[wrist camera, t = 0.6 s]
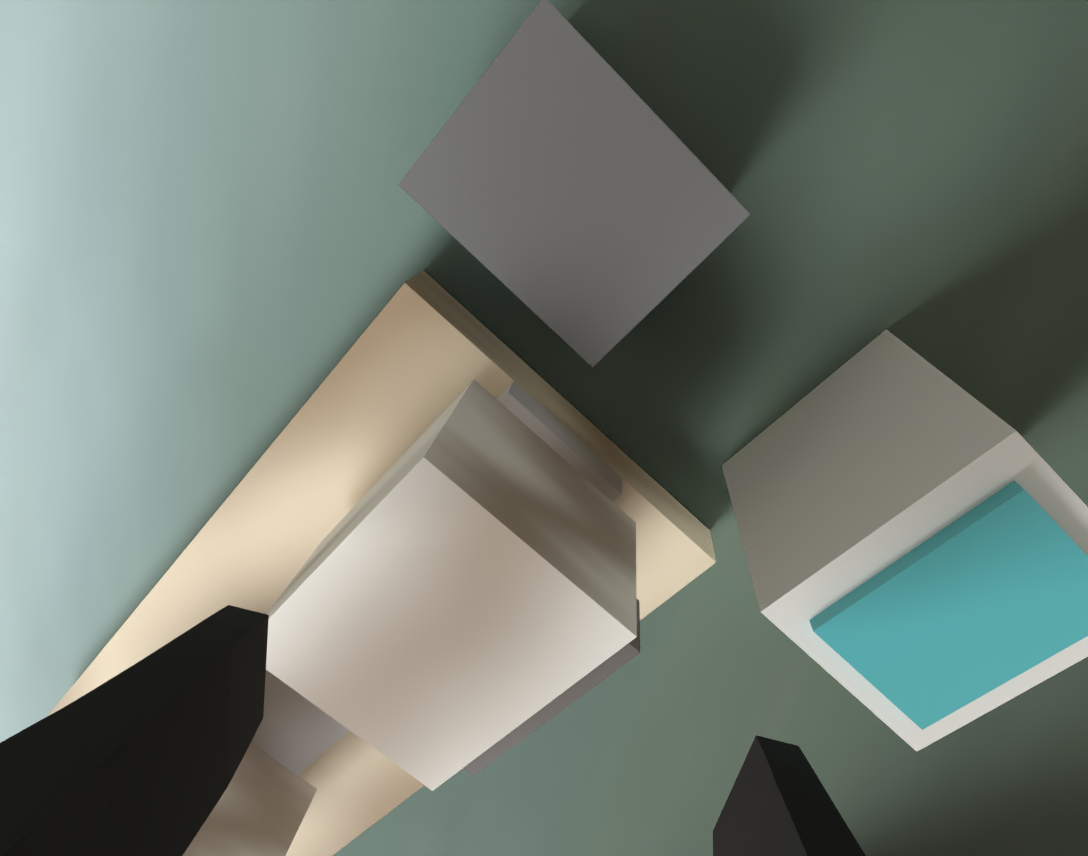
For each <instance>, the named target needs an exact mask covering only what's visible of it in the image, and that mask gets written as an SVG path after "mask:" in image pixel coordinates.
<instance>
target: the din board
mask: <svg viewBox="0 0 1088 856" xmlns="http://www.w3.org/2000/svg"><path fill="white" fill-rule="evenodd" d="M714 563H716V559H715V554H714V549H713V544H712V539H711V533H710V530H709V529H708V528H707V527H705V526H704V525H703V524H702V523H701V522H700V521H699V520H698V519H697V518H696V517H694V516H693V515H692V514H691V513H690V512H689V511H688V510H687V509H686V508H685V507H683V506H682V505H681V504H680V503H679V502H678V501H677V500H676V499H675V498H674V497H672V496H671V495H670V494H669V493H668V492H667V491H666V490H665V489H664V488H663V487H661V486H660V485H659V484H658V483H657V482H656V481H655V480H654V479H653V478H652V477H650V476H649V475H648V474H647V473H646V472H645V471H644V470H643V469H642V468H641V467H639V466H638V465H637V464H636V463H635V462H634V461H633V460H632V459H631V458H630V457H628V456H627V455H626V454H625V453H624V452H623V451H622V450H621V449H620V448H618V447H617V446H616V445H615V444H614V443H613V442H612V441H611V440H610V439H609V438H607V437H606V436H605V435H604V434H603V433H602V432H601V431H600V430H599V429H598V428H596V427H595V426H594V425H593V424H592V423H591V422H590V421H589V420H588V419H587V418H585V417H584V416H583V415H582V414H581V413H580V412H579V411H578V410H577V409H576V408H574V407H573V406H572V405H571V404H570V403H569V402H568V401H567V400H566V399H565V398H563V397H562V396H561V395H560V394H559V393H558V392H557V391H556V390H555V389H554V388H552V387H551V386H550V385H549V384H548V383H547V382H546V381H545V380H544V379H543V378H541V377H540V376H539V375H538V374H537V373H536V372H535V371H534V370H533V369H532V368H530V367H529V366H528V365H527V364H526V363H525V362H524V361H523V360H522V359H520V358H519V357H518V356H517V355H516V354H515V353H514V352H513V351H512V350H511V349H509V348H508V347H507V346H506V345H505V344H504V343H503V342H502V341H501V340H500V339H498V338H497V337H496V336H495V335H494V334H493V333H492V332H491V331H490V330H489V329H487V328H486V327H485V326H484V325H483V324H482V323H481V322H480V321H479V320H478V319H476V318H475V317H474V316H473V315H472V314H471V313H470V312H469V311H468V310H467V309H465V308H464V307H463V306H462V305H461V304H460V303H459V302H458V301H457V300H456V299H454V298H453V297H452V296H451V295H450V294H449V293H448V292H447V291H446V290H445V289H443V288H442V287H441V286H440V285H439V284H438V283H437V282H436V281H435V280H434V279H432V278H431V277H430V276H429V275H428V274H427V273H426V272H425V271H424V270H423V271H422V272H420V273H419V274H417V275H416V276H414V277H413V278H411V279H410V280H408V281H407V282H405V283H404V284H403V285H402V287H401V288H400V289H399V290H398V292H397V293H396V294H395V295H394V296H393V298H392V299H391V300H390V301H389V302H388V304H387V305H386V306H385V307H384V309H383V310H382V311H381V312H380V313H379V315H378V316H377V317H376V318H375V319H374V321H373V322H372V323H371V324H370V326H369V327H368V328H367V329H366V330H365V332H364V333H363V334H362V335H361V336H360V338H359V339H358V340H357V341H356V343H355V344H354V345H353V346H352V347H351V349H350V350H349V351H348V352H347V353H346V355H345V356H344V357H343V358H342V360H341V361H340V362H339V363H338V364H337V366H336V367H335V368H334V369H333V370H332V372H331V373H330V374H329V375H328V376H327V378H326V379H325V380H324V381H323V383H322V384H321V385H320V386H319V387H318V389H317V390H316V391H315V392H314V393H313V395H312V396H311V397H310V398H309V400H308V401H307V402H306V403H305V404H304V406H303V407H302V408H301V409H300V410H299V412H298V413H297V414H296V415H295V417H294V418H293V419H292V420H291V421H290V423H289V424H288V425H287V426H286V427H285V429H284V430H283V431H282V432H281V434H280V435H279V436H278V437H277V438H276V440H275V441H274V442H273V443H272V444H271V446H270V447H269V448H268V449H267V451H266V452H265V453H264V454H263V455H262V457H261V458H260V459H259V460H258V461H257V463H256V464H255V465H254V466H253V468H252V469H251V470H250V471H249V472H248V474H247V475H246V476H245V477H244V478H243V480H242V481H241V482H240V483H239V485H238V486H237V487H236V488H235V489H234V491H233V492H232V493H231V494H230V495H229V497H228V498H227V499H226V500H225V502H224V503H223V504H222V505H221V506H220V508H219V509H218V510H217V511H216V512H215V514H214V515H213V516H212V517H211V519H210V520H209V521H208V522H207V523H206V525H205V526H204V527H203V528H202V529H201V531H200V532H199V533H198V534H197V536H196V537H195V538H194V539H193V540H192V542H191V543H190V544H189V545H188V546H187V548H186V549H185V550H184V551H183V552H182V554H181V555H180V556H179V557H178V559H177V560H176V561H175V562H174V563H173V565H172V566H171V567H170V568H169V569H168V571H167V572H166V573H165V574H164V576H163V577H162V578H161V579H160V580H159V582H158V583H157V584H156V585H155V586H154V588H153V589H152V590H151V591H150V593H149V594H148V595H147V596H146V597H145V599H144V600H143V601H142V602H141V603H140V605H139V606H138V607H137V608H136V610H135V611H134V612H133V613H132V614H131V616H130V617H129V618H128V619H127V620H126V622H125V623H124V624H123V625H122V627H121V628H120V629H119V630H118V631H117V633H116V634H115V635H114V636H113V637H112V639H111V640H110V641H109V642H108V644H107V645H106V646H105V647H104V648H103V650H102V651H101V652H100V653H99V654H98V656H97V657H96V658H95V659H94V661H93V662H92V663H91V664H90V665H89V667H88V668H87V669H86V670H85V671H84V673H83V674H82V675H81V676H80V678H79V679H78V680H77V681H76V682H75V684H74V685H73V686H72V687H71V688H70V690H69V691H68V692H67V693H66V695H65V696H64V697H63V698H62V699H61V701H60V702H59V703H58V704H57V705H56V707H55V708H54V709H53V710H52V712H51V713H50V714H49V715H51V714H53V713H54V712H56V711H58V710H60V709H62V708H63V707H65V706H67V705H68V704H70V703H72V702H73V701H75V700H77V699H79V698H80V697H82V696H83V695H85V694H87V693H88V692H90V691H92V690H93V689H95V688H97V687H98V686H100V685H101V684H103V683H105V682H106V681H108V680H110V679H111V678H113V677H115V676H116V675H118V674H119V673H121V672H123V671H124V670H126V669H128V668H129V667H131V666H133V665H134V664H136V663H137V662H139V661H140V660H142V659H144V658H145V657H147V656H148V655H150V654H151V653H153V652H155V651H156V650H158V649H159V648H161V647H162V646H164V645H166V644H167V643H169V642H170V641H172V640H173V639H175V638H177V637H178V636H180V635H181V634H183V633H184V632H186V631H187V630H189V629H191V628H192V627H194V626H195V625H197V624H198V623H200V622H201V621H203V620H205V619H206V618H208V617H209V616H211V615H213V614H214V613H216V612H217V611H219V610H221V609H222V608H224V607H226V606H228V605H231V606H235V607H239V608H243V609H247V610H251V611H255V612H259V613H263V614H267V615H269V619H268V638H267V657H266V676H265V695H264V714H263V719H262V721H261V723H260V725H259V727H258V729H257V731H256V733H255V735H254V737H253V739H252V741H251V743H250V745H249V747H248V749H247V751H246V753H245V755H244V757H243V759H242V761H241V763H240V765H239V766H238V768H237V770H236V772H235V774H234V776H233V778H232V780H231V782H230V783H229V785H228V787H227V789H226V790H225V792H224V793H223V795H222V796H221V798H220V799H219V801H218V803H217V804H216V806H215V807H214V809H213V810H212V812H211V813H210V815H209V816H208V818H207V819H206V821H205V822H204V824H203V825H202V827H201V828H200V830H199V832H198V833H197V835H196V836H195V838H194V839H193V841H192V842H191V844H190V845H189V847H188V848H187V850H186V851H185V853H184V854H183V856H332V855H334V854H335V853H336V852H337V851H339V850H340V849H341V848H343V847H344V846H345V845H347V844H348V843H349V842H351V841H352V840H353V839H355V838H356V837H357V836H358V835H360V834H361V833H362V832H364V831H365V830H366V829H368V828H369V827H370V826H372V825H373V824H374V823H375V822H377V821H378V820H379V819H381V818H382V817H383V816H385V815H386V814H387V813H389V812H390V811H391V810H392V809H394V808H395V807H396V806H398V805H399V804H400V803H402V802H403V801H404V800H406V799H407V798H408V797H409V796H411V795H412V794H413V793H415V792H416V791H417V790H419V789H420V788H421V787H423V786H424V785H425V786H426V787H428V788H429V789H431V790H432V791H433V790H434V789H436V788H437V787H438V786H440V785H441V784H442V783H444V782H445V781H446V780H448V779H449V778H450V777H452V776H453V775H454V774H456V773H457V772H458V771H460V770H461V769H462V768H464V769H466V770H467V771H468V772H470V773H471V774H472V775H476V774H477V773H478V772H480V771H481V770H482V769H484V768H485V767H486V766H488V765H489V764H490V763H492V762H493V761H494V760H496V759H497V758H498V757H500V756H501V755H503V754H504V753H505V752H507V751H508V750H509V749H511V748H512V747H513V746H515V745H516V744H517V743H519V742H520V741H521V740H523V739H524V738H525V737H527V736H528V735H530V734H531V733H532V732H534V731H535V730H536V729H538V728H539V727H540V726H542V725H543V724H544V723H546V722H547V721H548V720H550V719H551V718H552V717H554V716H555V715H557V714H558V713H559V712H561V711H562V710H563V709H565V708H566V707H567V706H569V705H570V704H571V703H573V702H574V701H575V700H577V699H578V698H579V697H581V696H582V695H584V694H585V693H586V692H588V691H589V690H590V689H592V688H593V687H594V686H596V685H597V684H598V683H600V682H601V681H602V680H604V679H605V678H606V677H608V676H609V675H611V674H612V673H613V672H615V671H616V670H617V669H619V668H620V667H621V666H623V665H624V664H625V663H627V662H628V661H629V660H631V659H632V658H633V657H635V656H636V655H638V654H639V653H640V620H641V619H642V618H644V617H645V616H646V615H648V614H649V613H650V612H652V611H653V610H654V609H656V608H657V607H658V606H659V605H661V604H662V603H663V602H665V601H666V600H667V599H669V598H670V597H671V596H673V595H674V594H675V593H676V592H678V591H679V590H680V589H682V588H683V587H684V586H686V585H687V584H688V583H690V582H691V581H692V580H694V579H695V578H696V577H697V576H699V575H700V574H701V573H703V572H704V571H705V570H707V569H708V568H709V567H711V566H712V565H713V564H714ZM49 715H48V716H49Z"/></svg>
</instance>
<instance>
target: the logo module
mask: <svg viewBox="0 0 1088 856" xmlns="http://www.w3.org/2000/svg"><path fill="white" fill-rule="evenodd" d="M722 469H723V473H724V476H725V480H726V484H727V488H728V491H729V495H730V499H731V503H732V506H733V510H734V514H735V518H736V521H737V525H738V529H739V533H740V537H741V540H742V544H743V548H744V552H745V555H746V559H747V563H748V567H749V570H750V574H751V578H752V582H753V585H754V589H755V593H756V597H757V601H758V604H759V608H760V612H761V613H762V614H763V615H765V616H766V617H767V618H768V619H769V620H770V621H771V622H772V623H773V624H775V625H776V626H777V627H778V628H779V629H780V630H781V631H782V632H784V633H785V634H786V635H787V636H788V637H789V638H790V639H791V640H792V641H794V642H795V643H796V644H797V645H798V646H799V647H800V648H801V649H803V650H804V651H805V652H806V653H807V654H808V655H809V656H810V657H812V658H813V659H814V660H815V661H816V662H817V663H818V664H819V665H820V666H822V667H823V668H824V669H825V670H826V671H827V672H828V673H829V674H831V675H832V676H833V677H834V678H835V679H836V680H837V681H838V682H839V683H841V684H842V685H843V686H844V687H845V688H846V689H847V690H848V691H850V692H851V693H852V694H853V695H854V696H855V697H856V698H857V699H858V700H860V701H861V702H862V703H863V704H864V705H865V706H866V707H867V708H869V709H870V710H871V711H872V712H873V713H874V714H875V715H876V716H877V717H879V718H880V719H881V720H882V721H883V722H884V723H885V724H886V725H888V726H889V727H890V728H891V729H892V730H893V731H894V732H895V733H897V734H898V735H899V736H900V737H901V738H902V739H903V740H904V741H905V742H907V743H908V744H909V745H910V746H911V747H912V748H913V749H914V750H916V751H919V750H921V749H923V748H924V747H926V746H928V745H930V744H931V743H933V742H935V741H937V740H939V739H940V738H942V737H944V736H946V735H948V734H949V733H951V732H953V731H955V730H957V729H958V728H960V727H962V726H964V725H966V724H967V723H969V722H971V721H973V720H975V719H976V718H978V717H980V716H982V715H984V714H985V713H987V712H989V711H991V710H993V709H994V708H996V707H998V706H1000V705H1001V704H1003V703H1005V702H1007V701H1009V700H1010V699H1012V698H1014V697H1016V696H1018V695H1019V694H1021V693H1023V692H1025V691H1027V690H1028V689H1030V688H1032V687H1034V686H1036V685H1037V684H1039V683H1041V682H1043V681H1045V680H1046V679H1048V678H1050V677H1052V676H1054V675H1055V674H1057V673H1059V672H1061V671H1063V670H1064V669H1066V668H1068V667H1070V666H1071V665H1073V664H1075V663H1077V662H1079V661H1080V660H1082V659H1084V658H1086V657H1088V507H1087V506H1086V505H1085V504H1084V503H1083V502H1082V501H1081V499H1080V498H1079V497H1078V496H1077V495H1076V494H1075V493H1074V492H1073V491H1072V490H1071V489H1070V488H1069V487H1068V486H1067V484H1066V483H1065V482H1064V481H1063V480H1062V479H1061V478H1060V477H1059V476H1058V475H1057V474H1056V473H1055V472H1054V470H1053V469H1052V468H1051V467H1050V466H1049V465H1048V464H1047V463H1046V462H1045V461H1044V460H1043V459H1042V458H1041V457H1040V455H1039V454H1038V453H1037V452H1036V451H1035V450H1034V449H1033V448H1032V447H1031V446H1030V445H1029V444H1028V443H1027V442H1026V440H1025V439H1024V438H1023V437H1022V436H1021V435H1020V434H1019V433H1018V432H1017V431H1016V430H1015V429H1014V428H1012V427H1011V426H1010V425H1008V424H1007V423H1006V422H1005V421H1003V420H1002V419H1001V418H999V417H998V416H997V415H996V414H994V413H993V412H992V411H991V410H989V409H988V408H987V407H985V406H984V405H983V404H982V403H980V402H979V401H978V400H976V399H975V398H974V397H973V396H971V395H970V394H969V393H967V392H966V391H965V390H964V389H962V388H961V387H960V386H959V385H957V384H956V383H955V382H953V381H952V380H951V379H950V378H948V377H947V376H946V375H944V374H943V373H942V372H941V371H939V370H938V369H937V368H935V367H934V366H933V365H932V364H930V363H929V362H928V361H927V360H925V359H924V358H923V357H921V356H920V355H919V354H918V353H916V352H915V351H914V350H912V349H911V348H910V347H909V346H907V345H906V344H905V343H903V342H902V341H901V340H900V339H898V338H897V337H896V336H894V335H893V334H892V333H891V332H889V331H888V330H887V329H886V330H885V331H884V332H882V333H881V334H880V335H879V336H878V337H876V338H875V339H874V340H873V341H872V342H870V343H869V344H868V345H867V346H865V347H864V348H863V349H862V350H861V351H859V352H858V353H857V354H856V355H855V356H853V357H852V358H851V359H850V360H849V361H847V362H846V363H845V364H844V365H843V366H841V367H840V368H839V369H838V370H836V371H835V372H834V373H833V374H832V375H830V376H829V377H828V378H827V379H826V380H824V381H823V382H822V383H821V384H820V385H818V386H817V387H816V388H815V389H813V390H812V391H811V392H810V393H809V394H807V395H806V396H805V397H804V398H803V399H801V400H800V401H799V402H798V403H797V404H795V405H794V406H793V407H792V408H791V409H789V410H788V411H787V412H786V413H784V414H783V415H782V416H781V417H780V418H778V419H777V420H776V421H775V422H774V423H772V424H771V425H770V426H769V427H768V428H766V429H765V430H764V431H763V432H761V433H760V434H759V435H758V436H757V437H755V438H754V439H753V440H752V441H751V442H749V443H748V444H747V445H746V446H745V447H743V448H742V449H741V450H740V451H739V452H737V453H736V454H735V455H734V456H732V457H731V458H730V459H729V460H728V461H726V462H725V463H724V464H723V465H722Z"/></svg>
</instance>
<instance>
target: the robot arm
mask: <svg viewBox="0 0 1088 856" xmlns="http://www.w3.org/2000/svg"><path fill="white" fill-rule="evenodd" d="M268 619H269V615H267V614H263V613H259V612H255V611H251V610H247V609H243V608H239V607H235V606H231V605H228V606H226V607H224V608H222V609H221V610H219V611H217V612H216V613H214V614H213V615H211V616H209V617H208V618H206V619H205V620H203V621H201V622H200V623H198V624H197V625H195V626H194V627H192V628H191V629H189V630H187V631H186V632H184V633H183V634H181V635H180V636H178V637H177V638H175V639H173V640H172V641H170V642H169V643H167V644H166V645H164V646H162V647H161V648H159V649H158V650H156V651H155V652H153V653H151V654H150V655H148V656H147V657H145V658H144V659H142V660H140V661H139V662H137V663H136V664H134V665H133V666H131V667H129V668H128V669H126V670H124V671H123V672H121V673H119V674H118V675H116V676H115V677H113V678H111V679H110V680H108V681H106V682H105V683H103V684H101V685H100V686H98V687H97V688H95V689H93V690H92V691H90V692H88V693H87V694H85V695H83V696H82V697H80V698H79V699H77V700H75V701H73V702H72V703H70V704H68V705H67V706H65V707H63V708H62V709H60V710H58V711H56V712H54V713H53V714H51V715H49V716H47V717H46V718H44V719H42V720H40V721H38V722H37V723H35V724H33V725H31V726H30V727H28V728H26V729H24V730H22V731H21V732H19V733H17V734H15V735H14V736H12V737H10V738H8V739H6V740H5V741H3V742H1V743H0V856H183V854H184V853H185V851H186V850H187V848H188V847H189V845H190V844H191V842H192V841H193V839H194V838H195V836H196V835H197V833H198V832H199V830H200V828H201V827H202V825H203V824H204V822H205V821H206V819H207V818H208V816H209V815H210V813H211V812H212V810H213V809H214V807H215V806H216V804H217V803H218V801H219V799H220V798H221V796H222V795H223V793H224V792H225V790H226V789H227V787H228V785H229V783H230V782H231V780H232V778H233V776H234V774H235V772H236V770H237V768H238V766H239V765H240V763H241V761H242V759H243V757H244V755H245V753H246V751H247V749H248V747H249V745H250V743H251V741H252V739H253V737H254V735H255V733H256V731H257V729H258V727H259V725H260V723H261V721H262V719H263V714H264V695H265V676H266V657H267V638H268ZM713 856H866V855H865V854H864V852H863V851H862V849H861V847H860V846H859V844H858V843H857V841H856V839H855V838H854V836H853V834H852V833H851V831H850V830H849V828H848V826H847V825H846V823H845V821H844V820H843V818H842V817H841V815H840V813H839V812H838V810H837V808H836V807H835V805H834V803H833V802H832V800H831V798H830V797H829V795H828V794H827V792H826V790H825V789H824V787H823V785H822V784H821V782H820V780H819V779H818V777H817V775H816V774H815V772H814V770H813V769H812V767H811V766H810V764H809V762H808V761H807V759H806V757H805V756H804V754H803V753H802V751H801V749H800V748H799V746H796V745H792V744H788V743H784V742H780V741H776V740H772V739H768V738H764V737H760V736H756V737H755V739H754V741H753V744H752V746H751V748H750V750H749V752H748V755H747V757H746V759H745V761H744V764H743V766H742V768H741V770H740V772H739V775H738V777H737V779H736V781H735V783H734V786H733V788H732V790H731V792H730V795H729V797H728V799H727V801H726V803H725V806H724V808H723V810H722V812H721V814H720V817H719V819H718V821H717V823H716V826H715V828H714V830H713Z"/></svg>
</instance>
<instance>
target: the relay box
mask: <svg viewBox="0 0 1088 856" xmlns="http://www.w3.org/2000/svg"><path fill="white" fill-rule="evenodd" d="M398 185H399V186H400V187H401V188H402V189H403V190H404V191H405V192H406V193H407V194H408V195H410V196H411V197H412V198H413V199H414V200H415V201H416V202H417V203H418V204H419V205H420V206H421V207H422V208H423V209H424V210H426V211H427V212H428V213H429V214H430V215H431V216H432V217H433V218H434V219H435V220H436V221H437V222H438V223H439V224H440V225H441V226H443V227H444V228H445V229H446V230H447V231H448V232H449V233H450V234H451V235H452V236H453V237H454V238H455V239H456V240H457V241H459V242H460V243H461V244H462V245H463V246H464V247H465V248H466V249H467V250H468V251H469V252H470V253H471V254H472V255H473V256H474V257H476V258H477V259H478V260H479V261H480V262H481V263H482V264H483V265H484V266H485V267H486V268H487V269H488V270H489V271H490V272H492V273H493V274H494V275H495V276H496V277H497V278H498V279H499V280H500V281H501V282H502V283H503V284H504V285H505V286H506V287H507V288H509V289H510V290H511V291H512V292H513V293H514V294H515V295H516V296H517V297H518V298H519V299H520V300H521V301H522V302H523V303H525V304H526V305H527V306H528V307H529V308H530V309H531V310H532V311H533V312H534V313H535V314H536V315H537V316H538V317H539V318H540V319H542V320H543V321H544V322H545V323H546V324H547V325H548V326H549V327H550V328H551V329H552V330H553V331H554V332H555V333H556V334H557V335H559V336H560V337H561V338H562V339H563V340H564V341H565V342H566V343H567V344H568V345H569V346H570V347H571V348H572V349H573V350H575V351H576V352H577V353H578V354H579V355H580V356H581V357H582V358H583V359H584V360H585V361H586V362H587V363H588V364H589V365H590V366H592V367H594V366H595V365H596V364H597V363H598V362H599V361H600V360H601V359H602V358H603V357H604V356H605V355H606V354H607V353H608V352H609V351H610V350H611V349H612V348H613V347H614V346H615V345H616V344H617V343H619V342H620V341H621V340H622V339H623V338H624V337H625V336H626V335H627V334H628V333H629V332H630V331H631V330H632V329H633V328H634V327H635V326H636V325H637V324H638V323H639V322H640V321H641V320H642V319H643V318H644V317H645V316H646V315H647V314H648V313H649V312H650V311H652V310H653V309H654V308H655V307H656V306H657V305H658V304H659V303H660V302H661V301H662V300H663V299H664V298H665V297H666V296H667V295H668V294H669V293H670V292H671V291H672V290H673V289H674V288H675V287H676V286H677V285H678V284H679V283H680V282H681V281H682V280H683V279H684V278H686V277H687V276H688V275H689V274H690V273H691V272H692V271H693V270H694V269H695V268H696V267H697V266H698V265H699V264H700V263H701V262H702V261H703V260H704V259H705V258H706V257H707V256H708V255H709V254H710V253H711V252H712V251H713V250H714V249H715V248H716V247H717V246H719V245H720V244H721V243H722V242H723V241H724V240H725V239H726V238H727V237H728V236H729V235H730V234H731V233H732V232H733V231H734V230H735V229H736V228H737V227H738V226H739V225H740V224H741V223H742V222H743V221H744V220H745V219H746V218H747V217H748V216H749V215H750V213H749V212H748V211H747V210H746V209H745V208H744V207H743V206H742V205H741V204H740V203H739V202H738V201H737V199H736V198H735V197H734V196H733V195H732V194H731V193H730V192H729V191H728V190H727V189H726V188H725V187H724V186H723V185H722V184H721V183H720V181H719V180H718V179H717V178H716V177H715V176H714V175H713V174H712V173H711V172H710V171H709V170H708V169H707V168H706V167H705V166H704V165H703V164H702V162H701V161H700V160H699V159H698V158H697V157H696V156H695V155H694V154H693V153H692V152H691V151H690V150H689V149H688V148H687V147H686V146H685V145H684V143H683V142H682V141H681V140H680V139H679V138H678V137H677V136H676V135H675V134H674V133H673V132H672V131H671V130H670V129H669V128H668V127H667V125H666V124H665V123H664V122H663V121H662V120H661V119H660V118H659V117H658V116H657V115H656V114H655V113H654V112H653V111H652V110H651V109H650V108H649V106H648V105H647V104H646V103H645V102H644V101H643V100H642V99H641V98H640V97H639V96H638V95H637V94H636V93H635V92H634V91H633V90H632V88H631V87H630V86H629V85H628V84H627V83H626V82H625V81H624V80H623V79H622V78H621V77H620V76H619V75H618V74H617V73H616V72H615V71H614V69H613V68H612V67H611V66H610V65H609V64H608V63H607V62H606V61H605V60H604V59H603V58H602V57H601V56H600V55H599V54H598V53H597V52H596V50H595V49H594V48H593V47H592V46H591V45H590V44H589V43H588V42H587V41H586V40H585V39H584V38H583V37H582V36H581V35H580V34H579V32H578V31H577V30H576V29H575V28H574V27H573V26H572V25H571V24H570V23H569V22H568V21H567V20H566V19H565V18H564V17H563V16H562V15H561V13H560V12H559V11H558V10H557V9H556V8H555V7H554V6H553V5H552V4H551V3H550V2H549V1H548V0H541V1H540V2H539V3H538V5H537V6H536V7H535V8H534V10H533V11H532V12H531V14H530V15H529V16H528V17H527V19H526V20H525V21H524V23H523V24H522V25H521V26H520V28H519V29H518V30H517V32H516V33H515V34H514V36H513V37H512V38H511V39H510V41H509V42H508V43H507V45H506V46H505V47H504V48H503V50H502V51H501V52H500V54H499V55H498V56H497V58H496V59H495V60H494V61H493V63H492V64H491V65H490V67H489V68H488V69H487V70H486V72H485V73H484V74H483V76H482V77H481V78H480V80H479V81H478V82H477V83H476V85H475V86H474V87H473V89H472V90H471V91H470V92H469V94H468V95H467V96H466V98H465V99H464V100H463V102H462V103H461V104H460V105H459V107H458V108H457V109H456V111H455V112H454V113H453V114H452V116H451V117H450V118H449V120H448V121H447V122H446V124H445V125H444V126H443V127H442V129H441V130H440V131H439V133H438V134H437V135H436V136H435V138H434V139H433V140H432V142H431V143H430V144H429V146H428V147H427V148H426V149H425V151H424V152H423V153H422V155H421V156H420V157H419V158H418V160H417V161H416V162H415V164H414V165H413V166H412V167H411V169H410V170H409V171H408V173H407V174H406V175H405V177H404V178H403V179H402V180H401V182H400V183H399V184H398Z"/></svg>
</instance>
